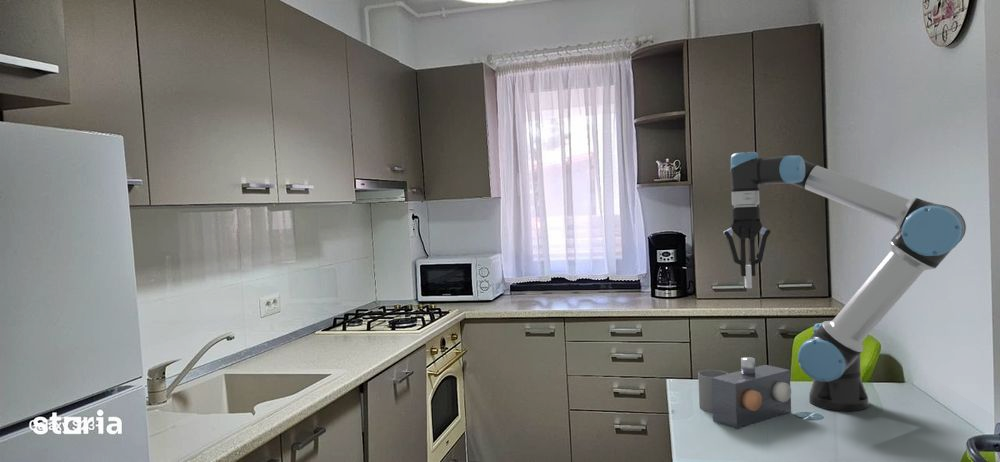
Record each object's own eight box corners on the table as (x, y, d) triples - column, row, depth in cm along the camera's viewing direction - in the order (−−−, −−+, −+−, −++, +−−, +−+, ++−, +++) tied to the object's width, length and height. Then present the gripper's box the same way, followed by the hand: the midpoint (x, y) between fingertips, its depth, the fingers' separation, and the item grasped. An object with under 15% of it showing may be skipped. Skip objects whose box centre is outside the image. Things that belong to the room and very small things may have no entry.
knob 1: (762, 408, 172) (761, 389, 172) (748, 412, 170) (748, 393, 170) (732, 400, 181) (731, 381, 181) (719, 403, 178) (718, 384, 178)
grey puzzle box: (791, 412, 181) (789, 370, 181) (736, 429, 170) (735, 383, 170) (766, 405, 188) (765, 364, 188) (713, 421, 177) (711, 377, 177)
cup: (731, 412, 184) (730, 377, 184) (701, 412, 186) (699, 377, 185) (727, 403, 192) (726, 369, 192) (698, 403, 194) (697, 369, 193)
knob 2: (791, 400, 178) (790, 381, 178) (779, 404, 176) (778, 384, 175) (761, 392, 187) (760, 374, 187) (749, 395, 184) (748, 377, 184)
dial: (754, 371, 181) (754, 357, 181) (755, 374, 178) (755, 360, 177) (741, 371, 182) (740, 357, 182) (741, 374, 179) (741, 359, 179)
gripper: (724, 207, 185) (726, 289, 186) (772, 205, 183) (775, 288, 184) (720, 207, 193) (722, 286, 193) (766, 205, 190) (769, 285, 191)
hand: (748, 287), depth 189 cm, fingers closed
